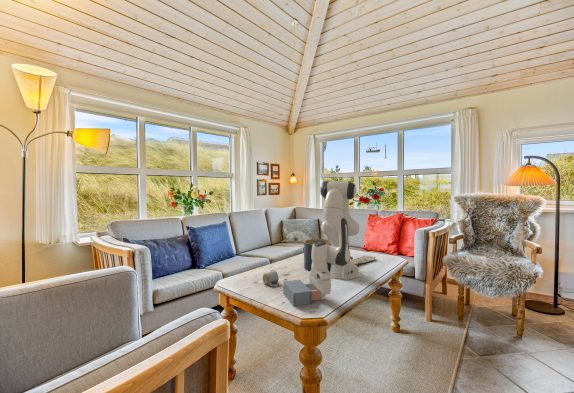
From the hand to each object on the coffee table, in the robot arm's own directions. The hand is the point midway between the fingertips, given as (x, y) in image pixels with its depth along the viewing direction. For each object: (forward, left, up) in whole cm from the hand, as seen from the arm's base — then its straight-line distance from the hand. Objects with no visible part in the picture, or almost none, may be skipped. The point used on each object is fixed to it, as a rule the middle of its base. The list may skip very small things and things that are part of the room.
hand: (319, 296), depth 150 cm
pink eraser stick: (+5, 0, -2) cm, 5 cm away
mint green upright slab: (+5, -11, -2) cm, 12 cm away
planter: (-23, -52, -2) cm, 57 cm away
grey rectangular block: (+11, -6, -2) cm, 13 cm away
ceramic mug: (+19, -31, -2) cm, 36 cm away
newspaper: (-61, -56, -3) cm, 83 cm away
